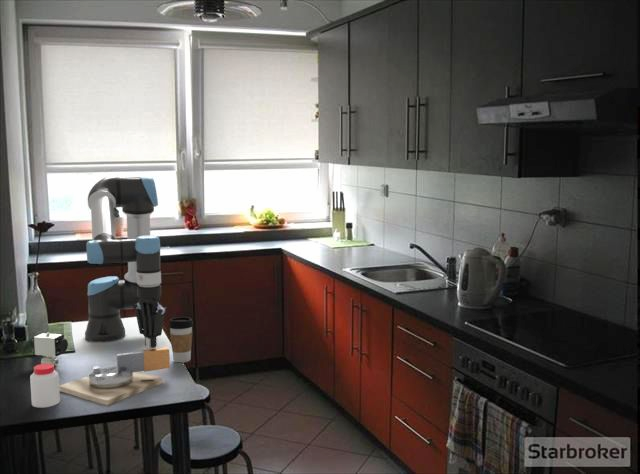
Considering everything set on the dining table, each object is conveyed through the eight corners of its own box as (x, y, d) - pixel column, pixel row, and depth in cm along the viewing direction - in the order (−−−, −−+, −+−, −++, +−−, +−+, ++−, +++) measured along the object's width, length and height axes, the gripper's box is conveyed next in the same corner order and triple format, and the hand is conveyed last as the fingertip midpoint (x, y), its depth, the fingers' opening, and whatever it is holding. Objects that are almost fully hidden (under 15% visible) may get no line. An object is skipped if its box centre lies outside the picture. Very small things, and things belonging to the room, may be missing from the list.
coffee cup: (164, 362, 230) (163, 320, 228) (178, 355, 238) (177, 314, 236) (185, 365, 227) (184, 322, 225) (198, 357, 235) (197, 316, 233)
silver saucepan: (91, 391, 198) (90, 364, 197) (87, 377, 210) (86, 351, 209) (173, 379, 208) (172, 353, 207) (165, 367, 220) (164, 342, 219)
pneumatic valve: (61, 370, 222) (59, 335, 220) (30, 367, 224) (28, 333, 223) (70, 364, 227) (69, 331, 226) (40, 362, 230) (38, 329, 228)
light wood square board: (115, 370, 222) (115, 365, 222) (162, 382, 210) (162, 377, 210) (58, 390, 203) (58, 385, 203) (107, 405, 192) (106, 399, 192)
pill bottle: (59, 406, 191) (56, 369, 190) (30, 409, 189) (27, 372, 188) (61, 396, 199) (59, 361, 197) (33, 399, 197) (31, 363, 195)
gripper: (125, 284, 210) (128, 356, 213) (154, 289, 203) (156, 363, 207) (143, 280, 216) (145, 350, 220) (172, 285, 210) (174, 356, 213)
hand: (151, 356), depth 213 cm, fingers closed
